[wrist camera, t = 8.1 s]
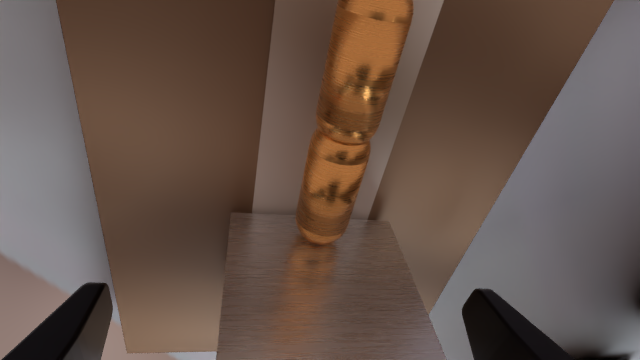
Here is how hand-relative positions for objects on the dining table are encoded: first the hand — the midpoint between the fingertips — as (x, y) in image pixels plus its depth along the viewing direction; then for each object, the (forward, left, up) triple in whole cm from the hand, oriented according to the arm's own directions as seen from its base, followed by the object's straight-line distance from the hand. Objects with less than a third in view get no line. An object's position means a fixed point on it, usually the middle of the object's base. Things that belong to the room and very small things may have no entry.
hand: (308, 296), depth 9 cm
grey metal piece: (+3, 0, -1) cm, 3 cm away
